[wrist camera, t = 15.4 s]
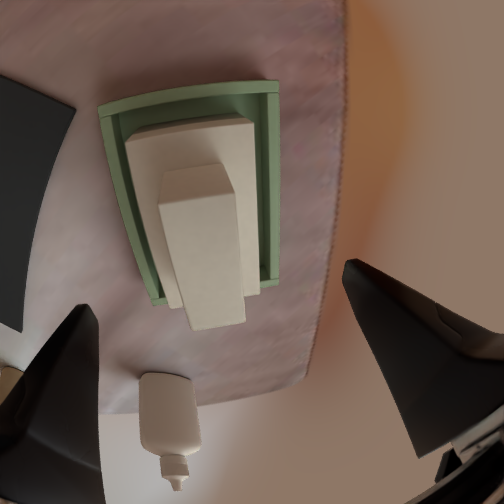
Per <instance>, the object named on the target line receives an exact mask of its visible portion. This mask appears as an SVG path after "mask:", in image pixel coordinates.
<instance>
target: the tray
mask: <svg viewBox="0 0 504 504" xmlns="http://www.w3.org/2000/svg"><path fill="white" fill-rule="evenodd" d="M278 92H279V80H242V81H227V82H216V83H206V84H198V85H190V86H183V87H177V88H171V89H165V90H159V91H154V92H149V93H144V94H140V95H135V96H131V97H127V98H123V99H119V100H115V101H111V102H108V103H105V104H102V105H99V106H98V107H97V109H98V115H99V118H100V119H99V120H100V126H101V131H102V137H103V142H104V147H105V151H106V156H107V160H108V165H109V169H110V173H111V177H112V181H113V185H114V189H115V193H116V197H117V201H118V204H119V208H120V211H121V215H122V218H123V221H124V225H125V228H126V231H127V234H128V238H129V241H130V244H131V247H132V250H133V253H134V256H135V259H136V262H137V264H138V267H139V270H140V273H141V276H142V278H143V281H144V284H145V286H146V289H147V292H148V294H149V297H150V299H151V302H152V304H153V306H156V305H163V304H168V302H167V299H166V296H165V293H164V290H163V287H162V284H161V281H160V278H159V275H158V272H157V269H156V265H155V262H154V259H153V256H152V252H151V249H150V245H149V242H148V238H147V235H146V231H145V228H144V224H143V220H142V217H141V213H140V209H139V205H138V201H137V197H136V193H135V188H134V184H133V180H132V175H131V170H130V166H129V161H128V156H127V151H126V146H125V142H126V141H127V140H128V139H129V138H130V137H131V135H132V134H133V133H134V132H135V131H136V130H137V129H138V128H139V127H142V126H146V125H151V124H156V123H162V122H167V121H173V120H179V119H185V118H192V117H199V116H207V115H216V114H225V113H236V112H238V113H240V114H241V115H243V116H244V117H246V118H247V119H249V120H250V121H251V122H253V123H254V140H255V164H256V190H257V216H258V245H259V274H260V288H264V287H270V286H275V285H279V250H280V110H279V93H278Z"/></svg>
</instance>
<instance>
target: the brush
mask: <svg viewBox="0 0 504 504" xmlns="http://www.w3.org/2000/svg"><path fill="white" fill-rule="evenodd" d="M125 146H126V151H127V156H128V161H129V166H130V170H131V175H132V180H133V184H134V188H135V193H136V197H137V201H138V205H139V209H140V213H141V217H142V220H143V224H144V228H145V231H146V235H147V238H148V242H149V245H150V249H151V252H152V256H153V259H154V262H155V265H156V269H157V272H158V275H159V278H160V281H161V284H162V287H163V290H164V293H165V296H166V299H167V302H168V305H169V307H170V309H174V308H180V307H184V309H185V313H186V316H187V319H188V322H189V325H190V328H191V330H192V331H196V330H202V329H209V328H215V327H221V326H226V325H232V324H238V323H243V322H245V321H246V315H245V304H244V297H246V296H251V295H257V294H260V274H259V245H258V216H257V190H256V164H255V140H254V123H253V122H251V121H250V120H249V119H247V118H246V117H244V116H243V115H241V114H240V113H238V112H236V113H225V114H216V115H207V116H199V117H192V118H185V119H179V120H173V121H167V122H162V123H156V124H151V125H146V126H142V127H139V128H138V129H137V130H136V131H135V132H134V133H133V134H132V135H131V137H130V138H129V139H128V140H127V141H126V142H125Z"/></svg>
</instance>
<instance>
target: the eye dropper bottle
mask: <svg viewBox="0 0 504 504" xmlns="http://www.w3.org/2000/svg"><path fill="white" fill-rule="evenodd" d="M139 424H140V440H141V444H142V446H143V448H144V449H146V450H147V451H149V452H151V453H153V454H156V455H159V456H160V457H161V458H160V466H161V474H162V477H163V478H165V479H167V480H169V481H170V482H171V485H172V487H173V490H174V491H182V482H183V480H184V479H186V478H188V477H189V472H188V465H187V459H186V458H185V456H188V455H191V454H193V453H195V452H197V451H198V450H199V449H200V448H201V434H200V428H199V420H198V413H197V406H196V398H195V390H194V384H193V382H192V381H191V380H189V379H186V378H183V377H180V376H177V375H172V374H166V373H145V374H144V375H142V377H141V379H140V381H139Z"/></svg>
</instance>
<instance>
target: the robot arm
mask: <svg viewBox="0 0 504 504" xmlns="http://www.w3.org/2000/svg"><path fill="white" fill-rule="evenodd" d="M342 283H343V286H344V288H345V291H346V293H347V296H348V299H349V301H350V304H351V307H352V309H353V312H354V315H355V317H356V319H357V321H358V323H359V326H360V327H361V329H362V332H363V334H364V336H365V338H366V340H367V342H368V344H369V346H370V348H371V350H372V352H373V354H374V356H375V358H376V361H377V363H378V365H379V367H380V369H381V371H382V373H383V376H384V378H385V380H386V382H387V384H388V387H389V389H390V391H391V393H392V396H393V398H394V400H395V403H396V405H397V407H398V410H399V412H400V413H401V414H400V415H401V417H402V419H403V422H404V424H405V427H406V429H407V432H408V434H409V437H410V439H411V442H412V444H413V447H414V449H415V452H416V455H417V457H418V458H419V459H420V458H422V457H424V456H426V455H428V454H429V453H431V452H433V451H435V450H437V449H438V448H440V447H442V446H444V445H446V444H447V443H449V442H451V444H452V446H453V447H452V448H451V449H449V450H448V451H446V452H445V453H444V454H443V456H442V460H441V463H440V466H439V469H438V472H437V475H436V477H435V482H436V484H435V485H434V486H432V487H431V488H429V489H428V490H426V491H425V492H423V493H422V494H420V495H418V496H417V497H415V498H413V499H412V500H410V501H408V502H407V503H405V504H504V334H499V333H495V332H492V331H489V330H487V329H485V328H483V327H482V326H480V325H477V324H476V323H474V322H471V321H470V320H468V319H466V318H464V317H462V316H460V315H458V314H456V313H454V312H452V311H451V310H449V309H447V308H445V307H443V306H442V305H440V304H438V303H435V301H433V300H431V299H430V298H428V297H426V296H424V295H423V294H421V293H419V292H418V291H416V290H414V289H412V288H410V287H409V286H407V285H405V284H403V283H402V282H400V281H398V280H396V279H394V278H393V277H391V276H389V275H387V274H385V273H383V272H382V271H380V270H378V269H376V268H374V267H372V266H370V265H369V264H367V263H365V262H363V261H361V260H359V259H350V260H347V261H346V263H345V266H344V271H343V276H342ZM98 382H99V325H98V320H97V318H96V317H95V315H94V313H93V311H92V310H91V308H90V306H89V305H88V304H78V305H76V306H75V308H74V309H73V310H72V311H71V312H70V313H69V315H68V316H67V317H66V318H65V319H64V321H63V322H62V323H61V324H60V326H59V327H58V328H57V329H56V330H55V332H54V333H53V334H52V335H51V337H50V338H49V339H48V341H47V342H46V343H45V344H44V346H43V347H42V348H41V350H40V351H39V352H38V354H37V355H36V356H35V358H34V359H33V360H32V362H31V363H30V364H29V366H28V367H27V369H26V370H25V371H24V373H23V375H22V376H21V377H20V378H19V380H18V381H17V383H16V384H15V386H14V387H13V388H12V390H11V391H10V393H9V394H8V395H7V397H6V398H5V399H4V401H3V402H2V403H1V405H0V504H106V501H105V495H104V488H103V480H102V472H101V463H100V451H99V434H98V433H99V431H98Z"/></svg>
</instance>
